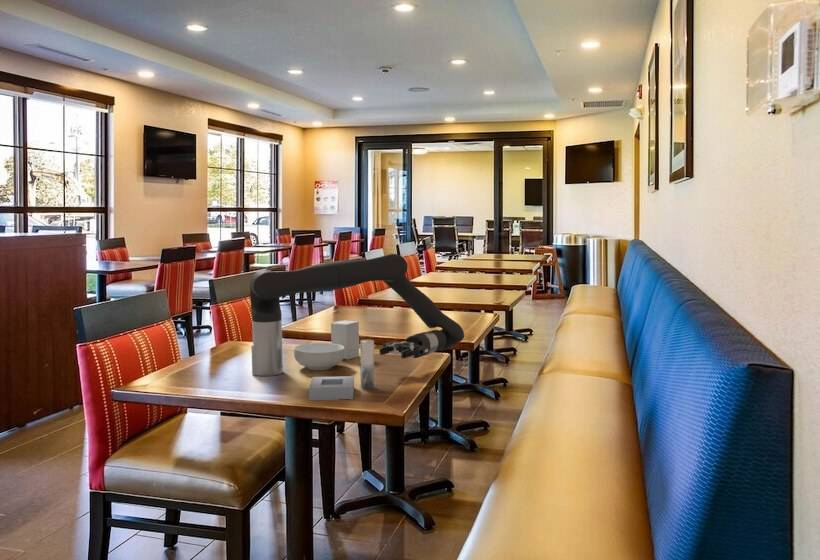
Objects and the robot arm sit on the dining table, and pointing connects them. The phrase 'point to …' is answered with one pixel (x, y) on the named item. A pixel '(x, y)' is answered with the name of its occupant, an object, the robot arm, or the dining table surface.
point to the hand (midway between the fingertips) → (391, 353)
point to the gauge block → (331, 388)
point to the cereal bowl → (319, 355)
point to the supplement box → (346, 337)
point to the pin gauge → (367, 364)
